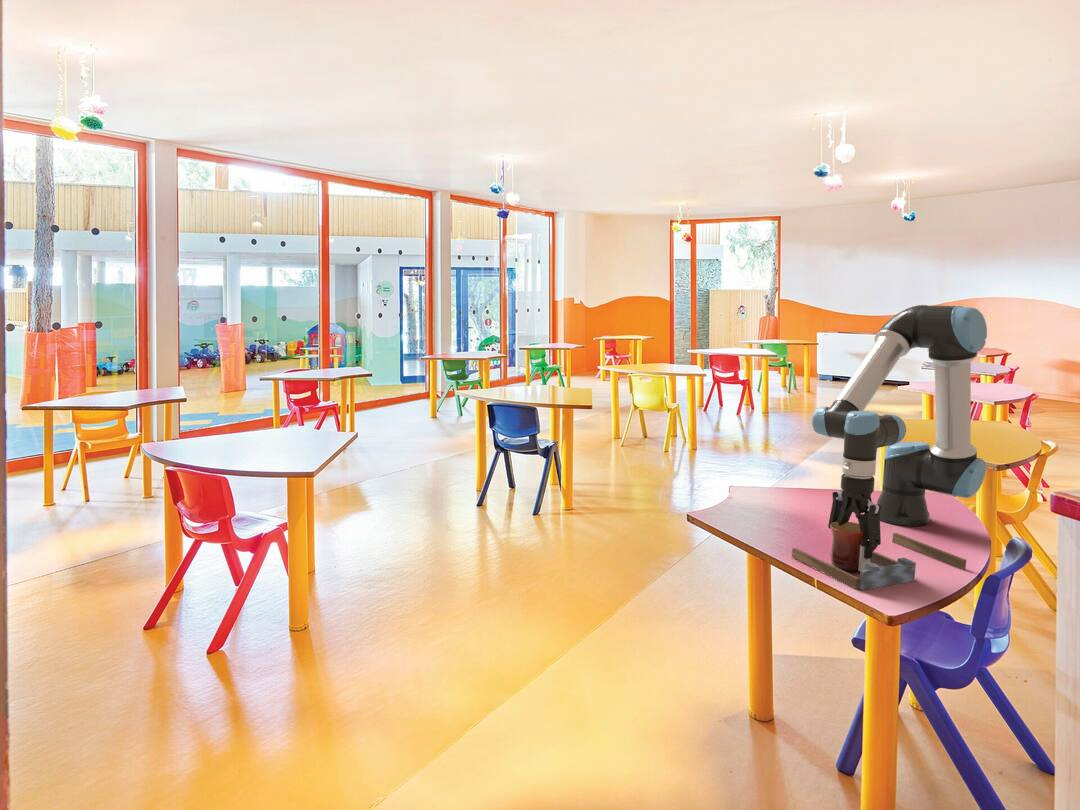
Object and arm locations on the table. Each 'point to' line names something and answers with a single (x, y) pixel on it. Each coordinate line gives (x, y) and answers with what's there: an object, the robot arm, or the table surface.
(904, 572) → the bar
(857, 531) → the mug
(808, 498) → the table surface
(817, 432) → the robot arm
